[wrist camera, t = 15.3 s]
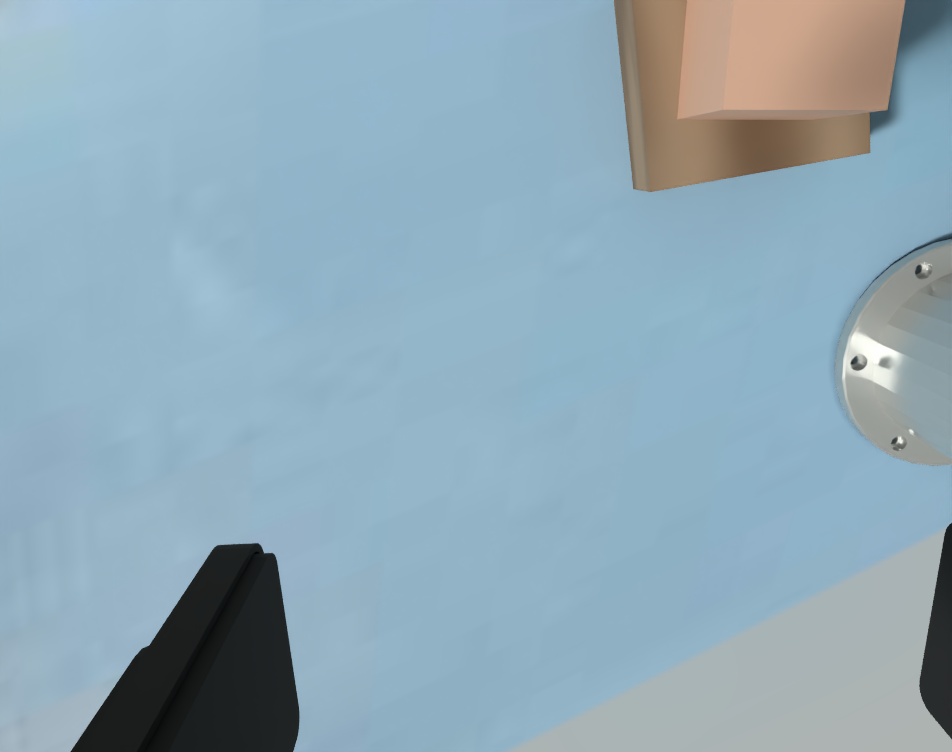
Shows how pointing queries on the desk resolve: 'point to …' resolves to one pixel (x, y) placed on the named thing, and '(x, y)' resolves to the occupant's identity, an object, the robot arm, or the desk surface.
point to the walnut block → (705, 141)
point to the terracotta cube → (787, 58)
